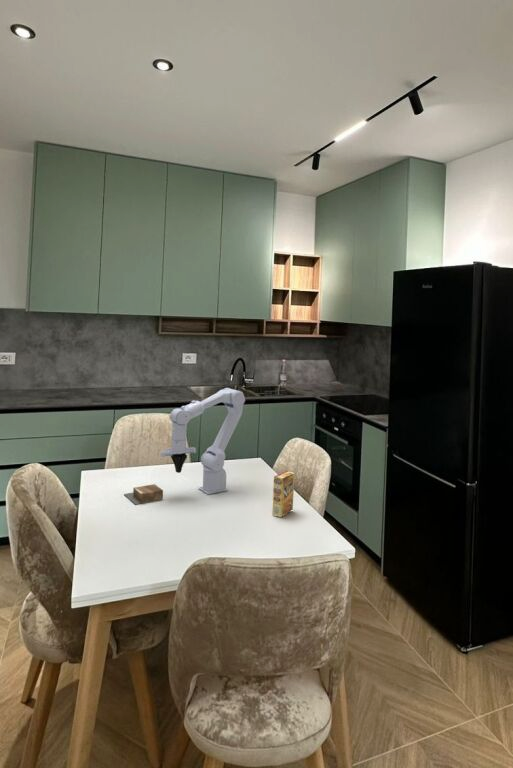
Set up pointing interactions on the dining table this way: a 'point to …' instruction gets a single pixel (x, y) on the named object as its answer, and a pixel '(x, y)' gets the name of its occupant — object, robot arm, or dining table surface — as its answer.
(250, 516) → the dining table surface
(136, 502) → the rubber mat
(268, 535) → the dining table surface
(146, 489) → the walnut slab
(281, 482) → the candy box
